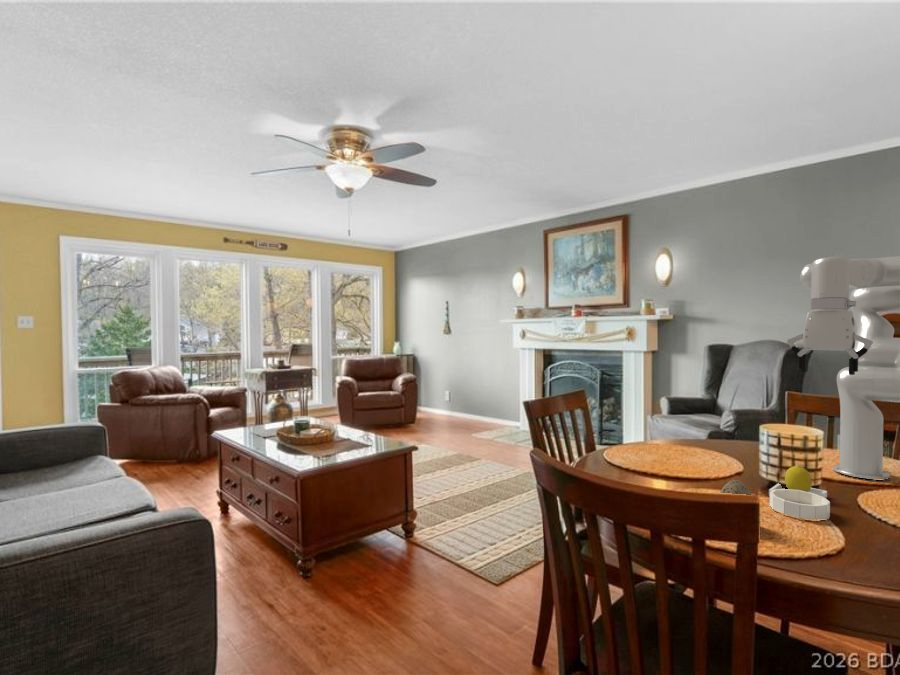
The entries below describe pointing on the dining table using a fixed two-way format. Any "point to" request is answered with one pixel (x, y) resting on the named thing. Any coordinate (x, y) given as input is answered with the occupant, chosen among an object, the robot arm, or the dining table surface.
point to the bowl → (800, 504)
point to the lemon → (798, 479)
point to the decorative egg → (735, 488)
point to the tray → (812, 490)
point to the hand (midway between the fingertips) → (827, 373)
